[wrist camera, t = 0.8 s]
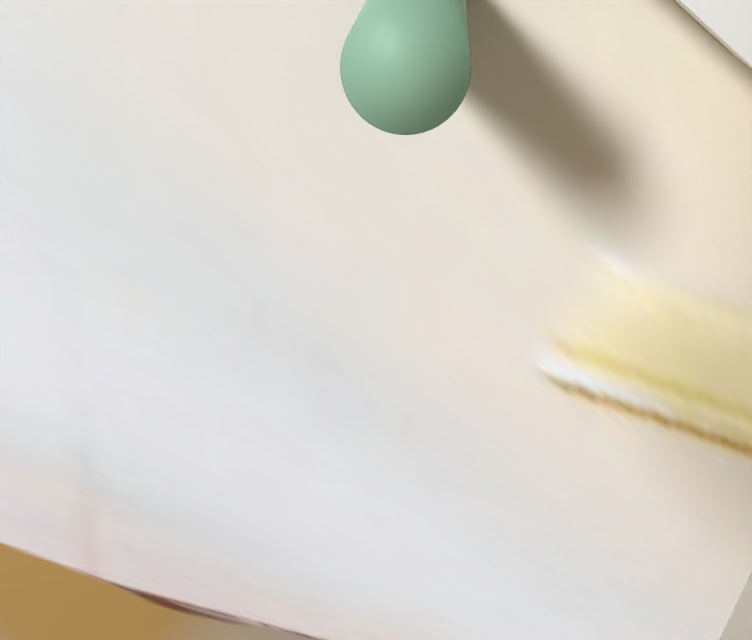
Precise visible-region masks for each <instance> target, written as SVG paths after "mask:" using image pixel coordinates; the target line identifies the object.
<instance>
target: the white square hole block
mask: <svg viewBox="0 0 752 640" xmlns="http://www.w3.org/2000/svg"><path fill="white" fill-rule="evenodd" d="M675 1H676V2H677V3H678V4H679V5H680V6H681V7H682V8H683V9H684V10H686V11H687V12H688V13H689V14H690V15H691V16H692V17H693V18H694V19H695V20H696V21H698V22H699V23H700V24H701V25H702V26H703V27H704V28H705V29H706V30H707V31H709V32H710V33H711V34H712V35H713V36H714V37H715V38H716V39H717V40H718V41H719V42H721V43H722V44H723V45H724V46H725V47H726V48H727V49H728V50H729V51H730V52H731V53H733V54H734V55H735V56H736V57H737V58H738V59H740V60H741V61H742V62H744V63H745V64H746V65H748V66H749V67H750V68H752V0H675Z"/></svg>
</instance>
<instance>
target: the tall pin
mask: <svg viewBox="0 0 752 640" xmlns="http://www.w3.org/2000/svg"><path fill="white" fill-rule="evenodd" d="M340 73H341V80H342V84H343V88H344V91H345V94H346V96H347V98H348V100H349V102H350V103H351V105H352V107H353V108H354V109H355V111H356V112H357V113H358V114H359V115H360V116H361V117H362V118H363V119H364V120H365V121H367V122H368V123H369V124H371V125H373V126H374V127H376V128H378V129H380V130H382V131H385V132H389V133H393V134H398V135H412V134H418V133H423V132H426V131H429V130H431V129H433V128H435V127H437V126H439V125H440V124H442V123H443V122H445V121H446V120H447V119H448V118H449V117H450V116H451V115H452V114H453V113H454V112H455V111H456V110H457V108H458V107H459V106H460V104H461V103H462V101H463V99H464V97H465V95H466V92H467V89H468V86H469V82H470V76H471V56H470V44H469V33H468V22H467V10H466V0H367V1H366V3H365V5H364V6H363V8H362V10H361V12H360V14H359V16H358V18H357V20H356V21H355V23H354V25H353V27H352V29H351V31H350V33H349V34H348V36H347V38H346V41H345V43H344V46H343V50H342V54H341V62H340Z"/></svg>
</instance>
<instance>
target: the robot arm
mask: <svg viewBox="0 0 752 640" xmlns="http://www.w3.org/2000/svg"><path fill="white" fill-rule="evenodd" d="M720 640H752V572H751V575H750V577H749V579H748V581H747V583H746V585H745V587H744V589H743V591H742V593H741V596H740V598H739V600H738V602H737V604H736V606H735V608H734V610H733V612H732V615H731V617H730V619H729V621H728V623H727V625H726V627H725V629H724V631H723V633H722V636H721V638H720Z"/></svg>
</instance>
